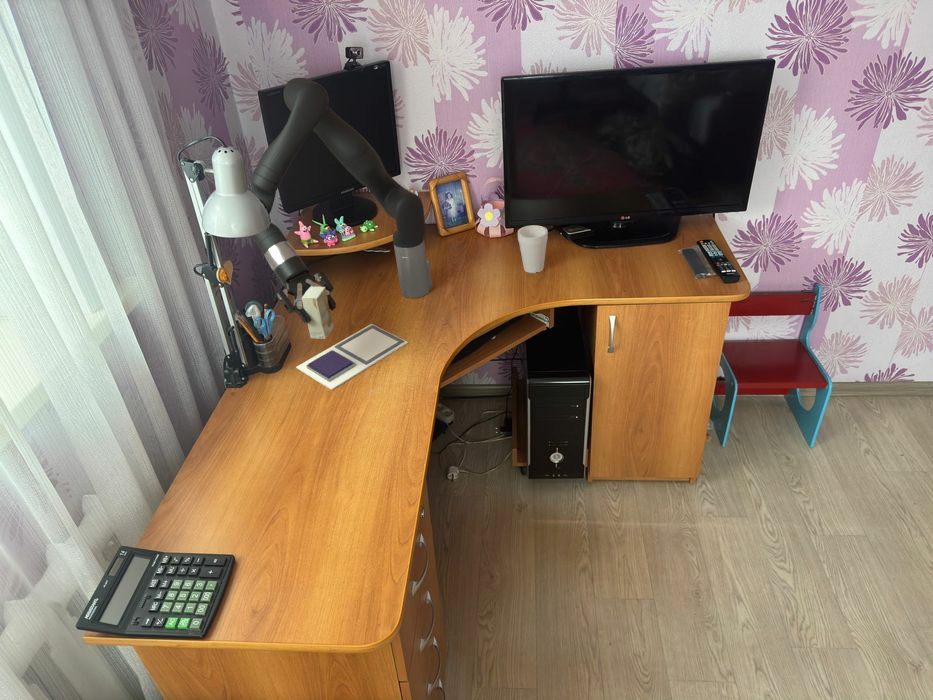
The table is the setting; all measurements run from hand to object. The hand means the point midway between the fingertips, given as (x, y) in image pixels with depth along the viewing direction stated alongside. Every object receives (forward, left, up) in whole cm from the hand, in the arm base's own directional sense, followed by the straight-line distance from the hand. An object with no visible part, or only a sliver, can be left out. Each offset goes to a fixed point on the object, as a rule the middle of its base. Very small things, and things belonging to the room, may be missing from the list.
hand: (321, 315), depth 179 cm
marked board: (-8, -1, -17) cm, 19 cm away
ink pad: (0, -1, -17) cm, 17 cm away
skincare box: (0, -2, -6) cm, 6 cm away
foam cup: (-76, +8, -18) cm, 78 cm away
